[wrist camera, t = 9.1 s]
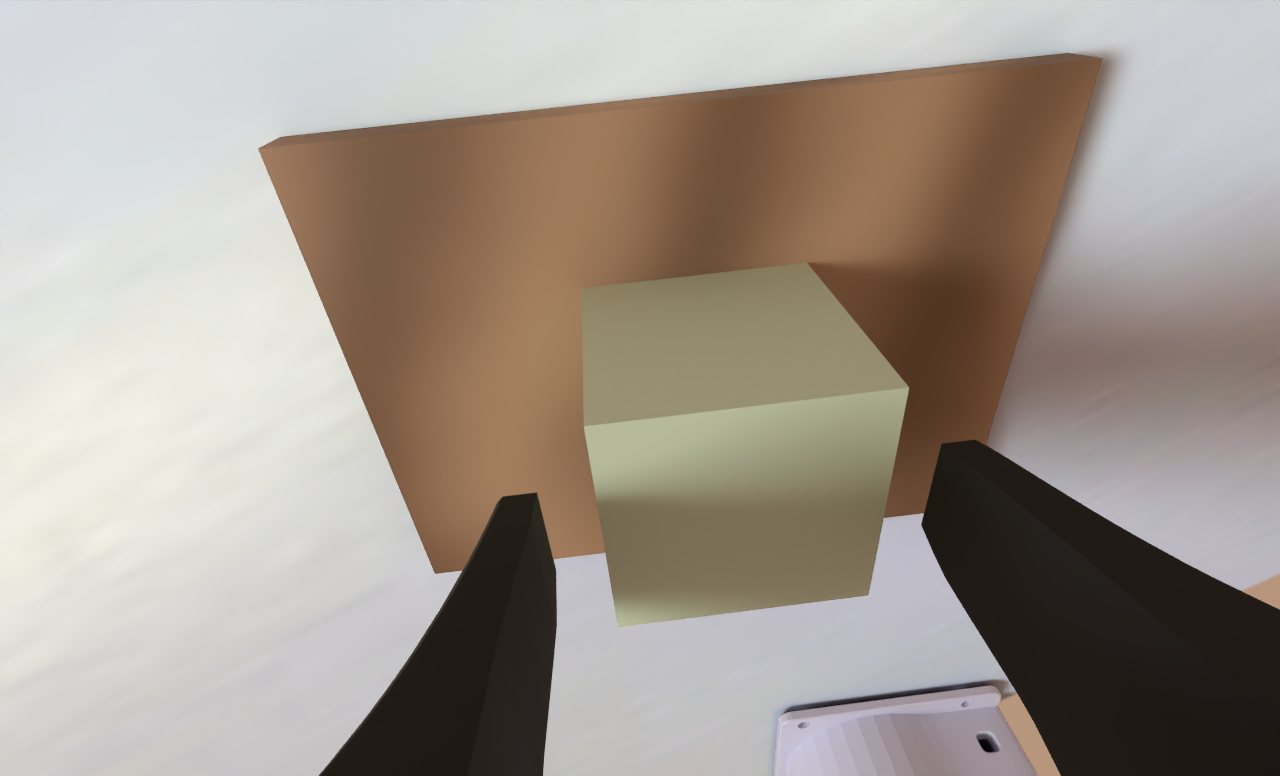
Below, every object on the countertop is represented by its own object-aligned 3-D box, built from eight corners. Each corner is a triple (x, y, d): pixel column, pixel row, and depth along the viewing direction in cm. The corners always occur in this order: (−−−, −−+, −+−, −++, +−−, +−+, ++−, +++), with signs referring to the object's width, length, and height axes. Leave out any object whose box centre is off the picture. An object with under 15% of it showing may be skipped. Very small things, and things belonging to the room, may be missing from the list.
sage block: (806, 262, 13) (909, 387, 9) (794, 438, 16) (868, 595, 12) (582, 288, 13) (583, 426, 9) (607, 461, 16) (618, 627, 12)
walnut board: (1067, 53, 12) (1102, 58, 12) (949, 484, 19) (966, 507, 18) (279, 137, 12) (257, 148, 11) (441, 547, 19) (434, 573, 18)
